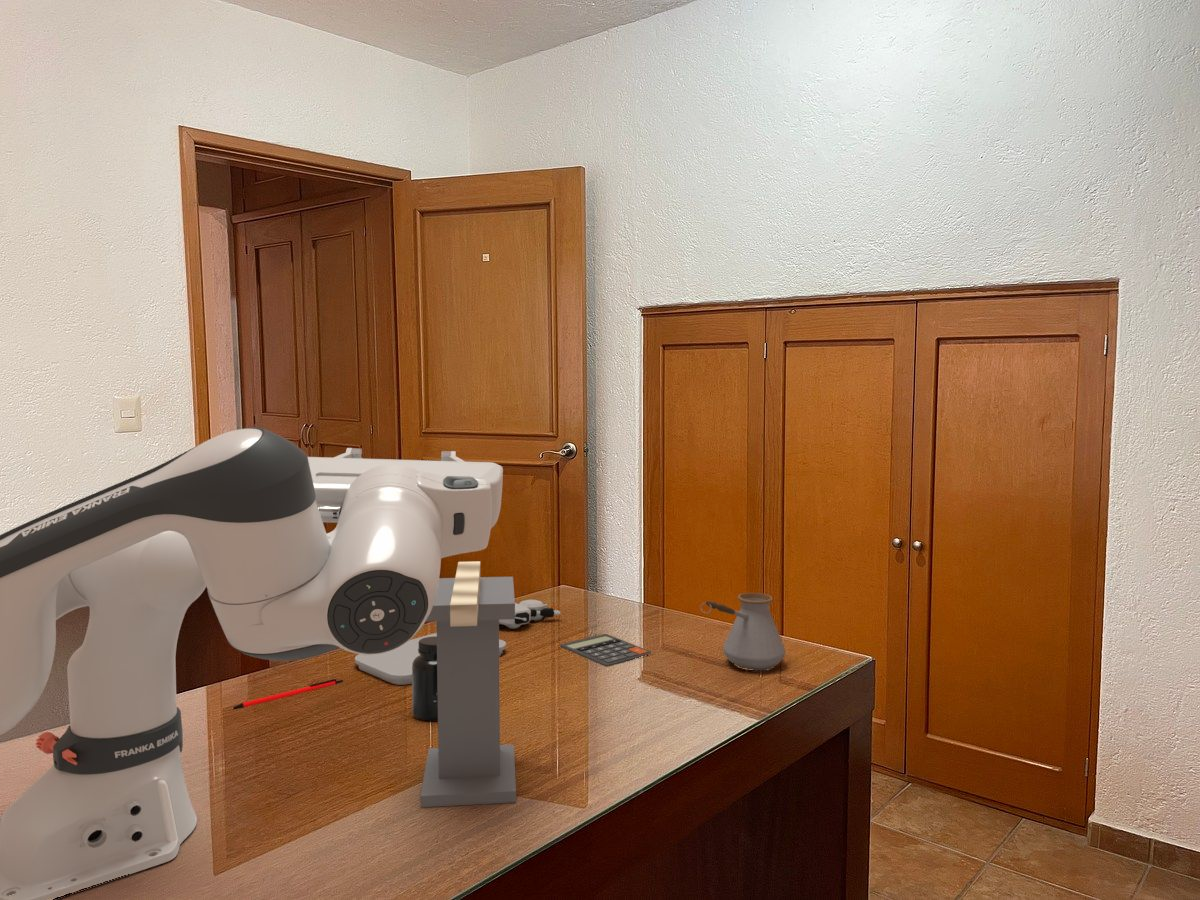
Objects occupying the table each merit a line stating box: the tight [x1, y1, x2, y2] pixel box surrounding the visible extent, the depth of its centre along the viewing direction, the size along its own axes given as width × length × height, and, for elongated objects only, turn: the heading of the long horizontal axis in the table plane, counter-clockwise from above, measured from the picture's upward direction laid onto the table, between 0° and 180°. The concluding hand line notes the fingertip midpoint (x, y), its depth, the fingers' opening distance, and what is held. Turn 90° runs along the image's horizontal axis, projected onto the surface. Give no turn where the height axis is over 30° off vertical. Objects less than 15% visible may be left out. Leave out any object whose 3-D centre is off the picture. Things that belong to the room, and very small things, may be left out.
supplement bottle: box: [411, 636, 438, 722], centre depth 142 cm, size 7×7×12 cm
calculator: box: [559, 633, 652, 668], centre depth 174 cm, size 12×1×15 cm
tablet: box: [354, 632, 507, 686], centre depth 168 cm, size 16×26×2 cm, turn 137°
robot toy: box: [499, 599, 561, 630], centre depth 192 cm, size 12×4×15 cm
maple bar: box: [450, 560, 481, 627], centre depth 113 cm, size 22×3×2 cm, turn 7°
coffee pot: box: [700, 592, 786, 671], centre depth 162 cm, size 21×12×15 cm, turn 137°
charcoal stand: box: [419, 576, 517, 808], centre depth 119 cm, size 14×12×26 cm
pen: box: [231, 678, 344, 710], centre depth 150 cm, size 1×19×1 cm, turn 132°
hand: (402, 456), depth 92 cm, fingers open, 8 cm apart
